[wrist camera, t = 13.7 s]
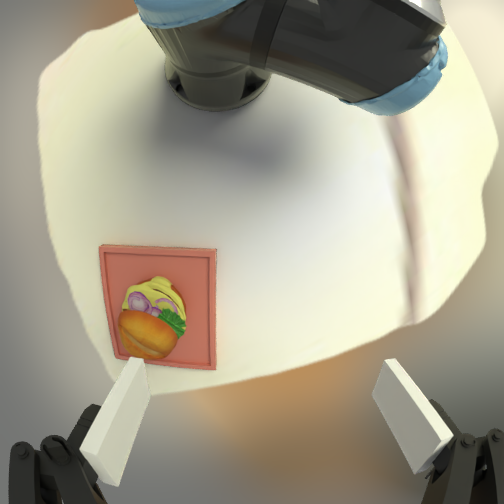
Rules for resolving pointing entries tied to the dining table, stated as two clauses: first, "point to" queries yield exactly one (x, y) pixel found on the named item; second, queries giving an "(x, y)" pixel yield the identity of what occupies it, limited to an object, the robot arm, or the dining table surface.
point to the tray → (184, 280)
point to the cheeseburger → (152, 319)
